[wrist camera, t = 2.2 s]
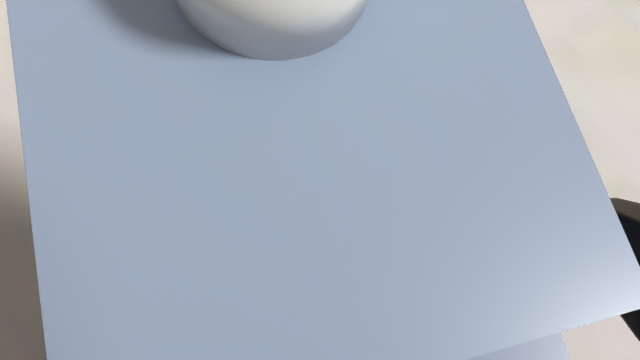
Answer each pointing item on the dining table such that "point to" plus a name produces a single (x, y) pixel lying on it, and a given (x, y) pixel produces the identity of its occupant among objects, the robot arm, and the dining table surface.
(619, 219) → the robot arm
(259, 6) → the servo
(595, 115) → the dining table surface
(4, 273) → the dining table surface
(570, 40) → the dining table surface
